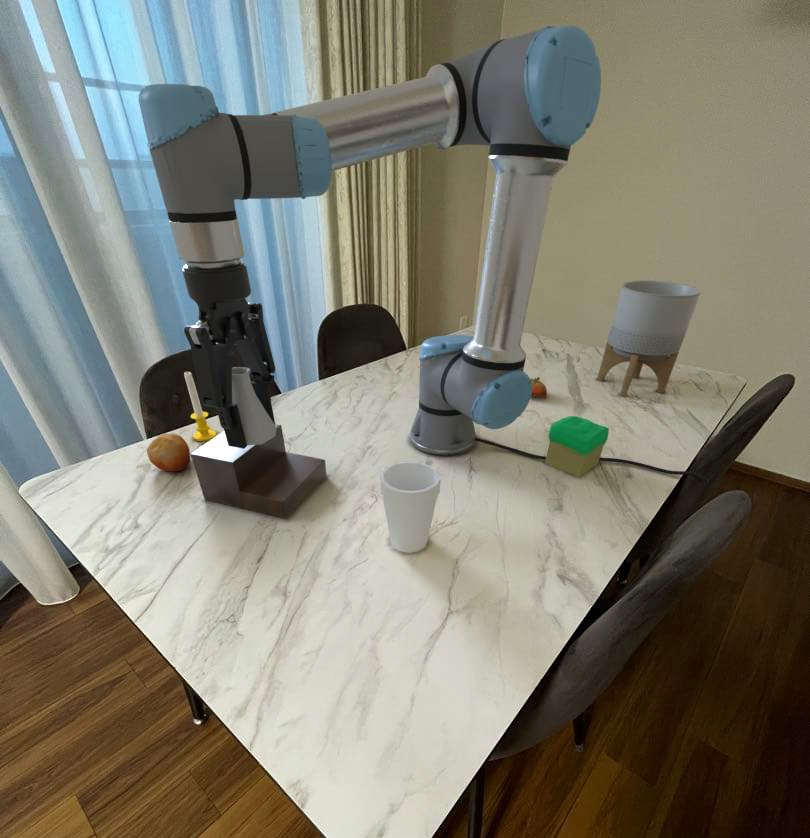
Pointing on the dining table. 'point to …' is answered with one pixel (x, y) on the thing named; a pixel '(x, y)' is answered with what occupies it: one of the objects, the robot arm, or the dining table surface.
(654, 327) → the planter
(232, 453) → the spice riser
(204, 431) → the candle
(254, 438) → the flask
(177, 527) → the dining table surface
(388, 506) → the foam cup
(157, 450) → the fruit
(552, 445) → the cake
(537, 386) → the tomato
